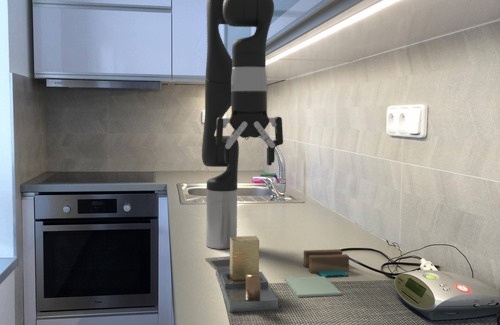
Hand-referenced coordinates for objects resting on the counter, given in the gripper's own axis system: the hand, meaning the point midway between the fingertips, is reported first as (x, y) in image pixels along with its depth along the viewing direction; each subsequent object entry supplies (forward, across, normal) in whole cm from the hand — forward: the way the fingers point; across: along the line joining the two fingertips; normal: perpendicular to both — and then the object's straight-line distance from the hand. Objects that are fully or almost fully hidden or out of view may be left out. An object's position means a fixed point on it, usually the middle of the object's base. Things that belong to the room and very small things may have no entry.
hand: (249, 165), depth 112 cm
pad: (+29, -15, -3) cm, 33 cm away
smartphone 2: (+31, -22, -18) cm, 42 cm away
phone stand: (+30, -22, -18) cm, 41 cm away
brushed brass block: (+27, +1, -3) cm, 27 cm away
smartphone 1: (+30, +3, -23) cm, 38 cm away
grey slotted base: (+29, +1, -3) cm, 29 cm away
